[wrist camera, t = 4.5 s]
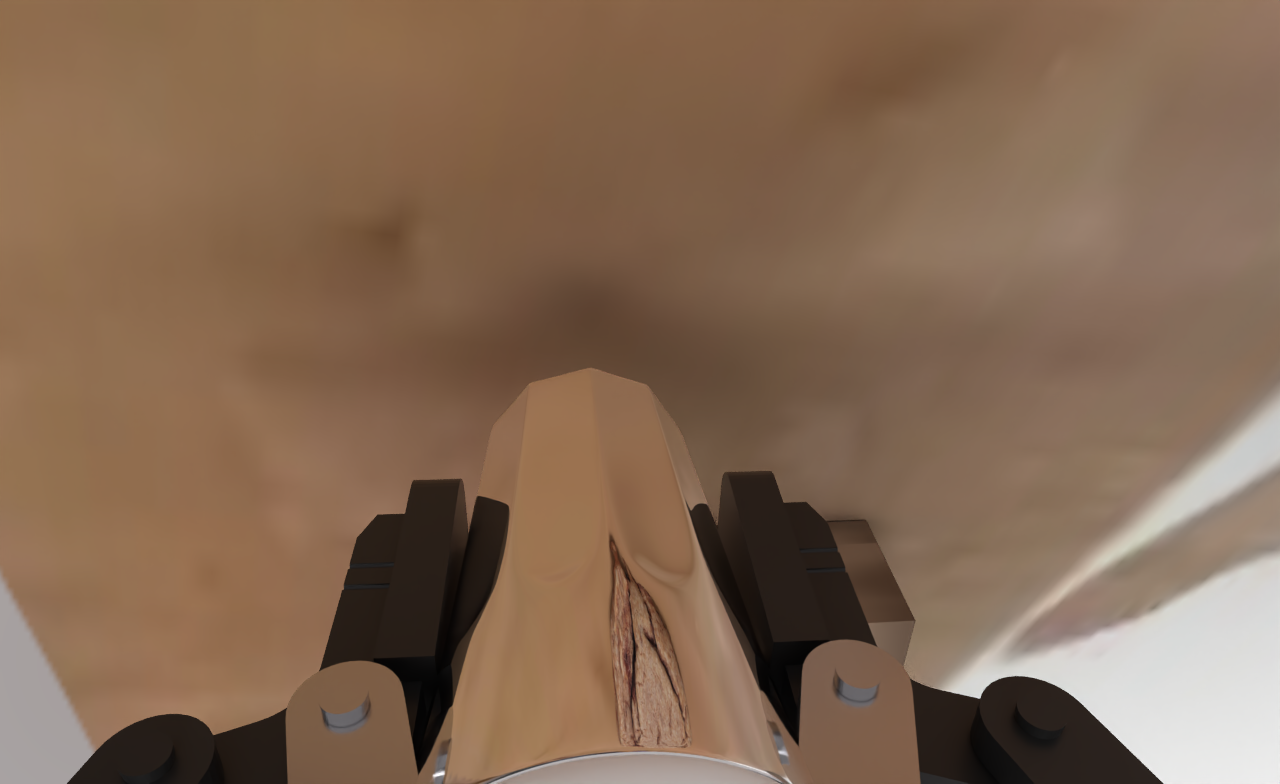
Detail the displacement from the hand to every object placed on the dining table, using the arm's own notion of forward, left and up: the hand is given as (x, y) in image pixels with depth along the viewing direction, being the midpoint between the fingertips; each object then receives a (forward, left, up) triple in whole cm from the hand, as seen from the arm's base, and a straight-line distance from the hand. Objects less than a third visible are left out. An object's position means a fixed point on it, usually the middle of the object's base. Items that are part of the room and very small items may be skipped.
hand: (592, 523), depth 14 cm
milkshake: (0, 0, -2) cm, 2 cm away
